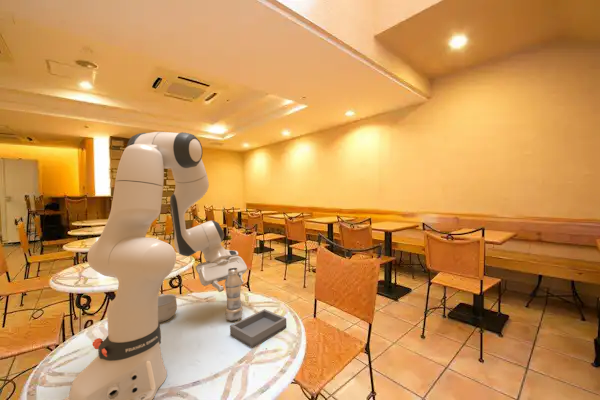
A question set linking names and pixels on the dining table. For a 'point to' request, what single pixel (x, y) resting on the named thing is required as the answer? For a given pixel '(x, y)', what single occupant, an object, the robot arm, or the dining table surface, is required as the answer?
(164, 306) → the teacup
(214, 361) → the dining table surface
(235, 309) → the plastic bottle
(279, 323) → the tray
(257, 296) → the dining table surface
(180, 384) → the dining table surface
